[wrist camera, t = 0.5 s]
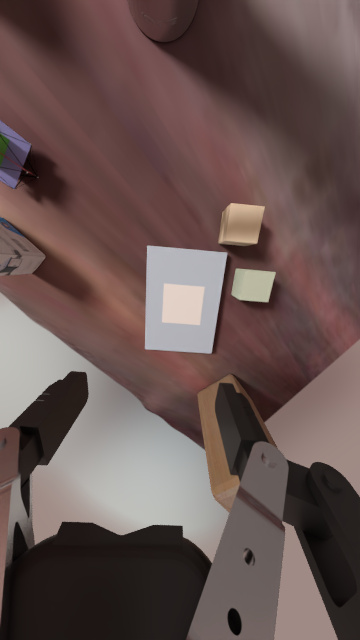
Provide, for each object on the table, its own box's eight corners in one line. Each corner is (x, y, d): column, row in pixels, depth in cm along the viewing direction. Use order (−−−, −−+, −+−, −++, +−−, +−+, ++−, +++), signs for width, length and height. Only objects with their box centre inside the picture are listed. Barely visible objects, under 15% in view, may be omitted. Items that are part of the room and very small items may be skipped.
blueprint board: (148, 246, 32) (147, 245, 30) (225, 253, 32) (227, 252, 31) (146, 345, 38) (144, 349, 36) (210, 350, 38) (211, 353, 37)
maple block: (222, 212, 30) (231, 203, 25) (251, 215, 30) (264, 206, 26) (218, 243, 32) (225, 240, 27) (245, 246, 32) (257, 243, 27)
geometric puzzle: (55, 162, 26) (-27, 97, 19) (36, 205, 28) (-45, 160, 20) (39, 151, 29) (-37, 91, 22) (23, 190, 30) (-52, 146, 23)
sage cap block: (235, 268, 33) (245, 269, 28) (261, 270, 33) (275, 272, 29) (231, 294, 35) (239, 299, 30) (255, 296, 35) (268, 302, 30)
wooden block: (231, 370, 40) (278, 468, 21) (251, 399, 43) (310, 507, 24) (195, 391, 42) (209, 499, 23) (217, 417, 45) (246, 533, 26)
